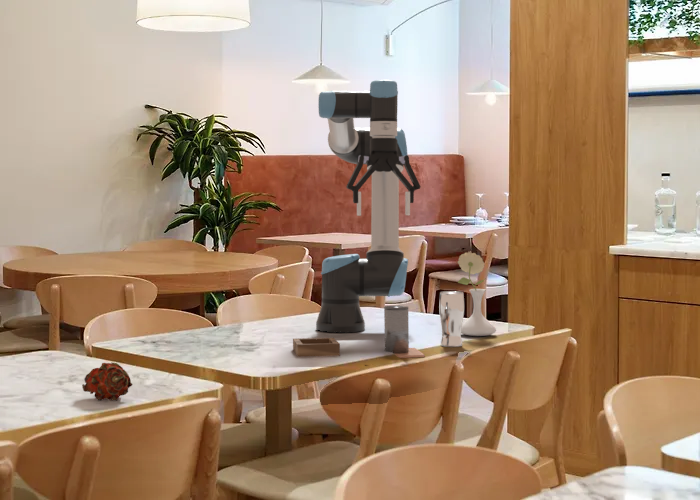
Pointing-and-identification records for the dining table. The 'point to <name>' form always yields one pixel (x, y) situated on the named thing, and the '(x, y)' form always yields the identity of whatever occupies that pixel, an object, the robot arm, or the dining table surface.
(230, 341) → the dining table surface
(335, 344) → the socket block
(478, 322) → the flower in vase
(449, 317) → the beer glass
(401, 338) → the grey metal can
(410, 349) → the pad
